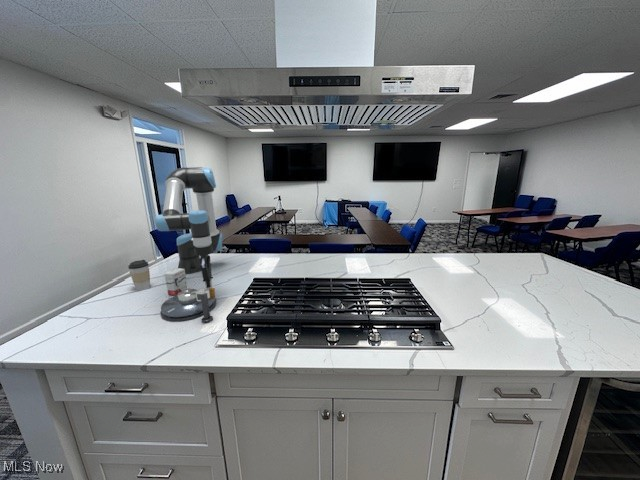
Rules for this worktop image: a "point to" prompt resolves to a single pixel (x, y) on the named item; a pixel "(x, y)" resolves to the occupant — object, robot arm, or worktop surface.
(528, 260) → the worktop surface
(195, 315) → the base
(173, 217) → the robot arm
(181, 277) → the ink box
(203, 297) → the dial post
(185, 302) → the cover
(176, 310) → the turntable
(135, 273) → the coffee cup
